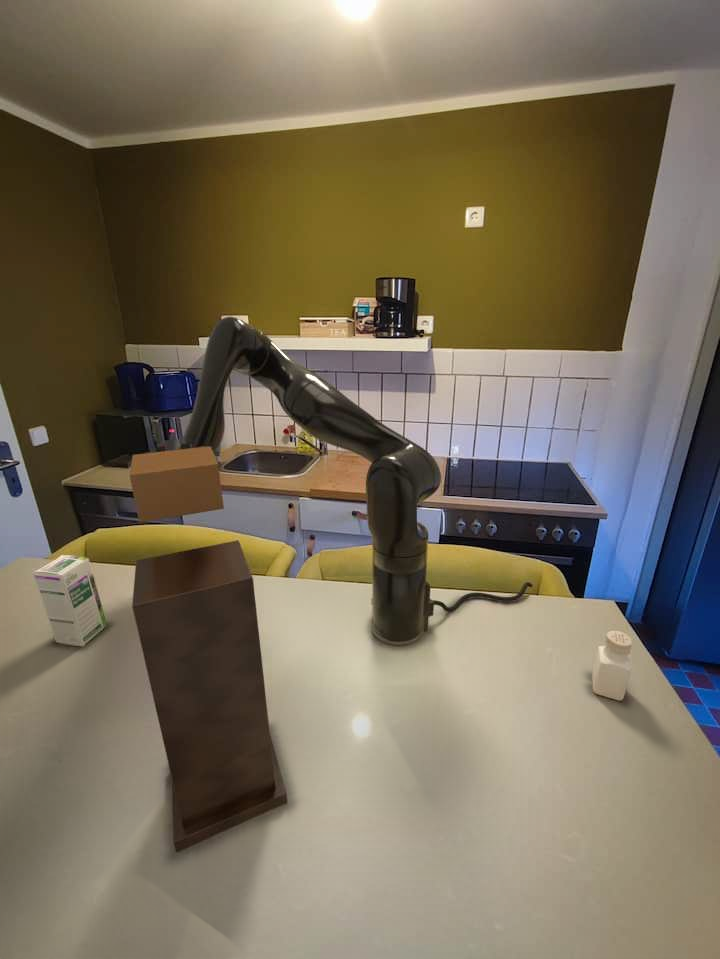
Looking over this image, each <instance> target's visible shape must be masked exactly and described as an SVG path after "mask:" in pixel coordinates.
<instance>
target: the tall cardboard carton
mask: <svg viewBox="0 0 720 959" xmlns="http://www.w3.org/2000/svg"><path fill="white" fill-rule="evenodd" d="M180 442H181V441H180V439H179V438H175V439H166V440H164V444H165V448H166V451H164V452H155V453H154V452H148V453H146V454H143V453H138V454H132V457H131V458H132V459H131V461H132V464H131V470H130V475H129V479H130V484H131V489H132V490H131V491H132V495H133V499H134V504H135V509H136V513H137V519H138V523H139V524H142V523H147V522H152V521H154V522H155V521H158V520H165V519H171V518H177V517H182V516H189V515H195V514H200V513H207V512H212V511H219V510H224V509H225V505H224V499H223V491H222V483H221V474H220V468H219V466H218V462H217V460H216V458H215V456H214V453H213V451H212V449H211V446H208V447H199V448H190V449H181V446H180Z"/></svg>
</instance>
